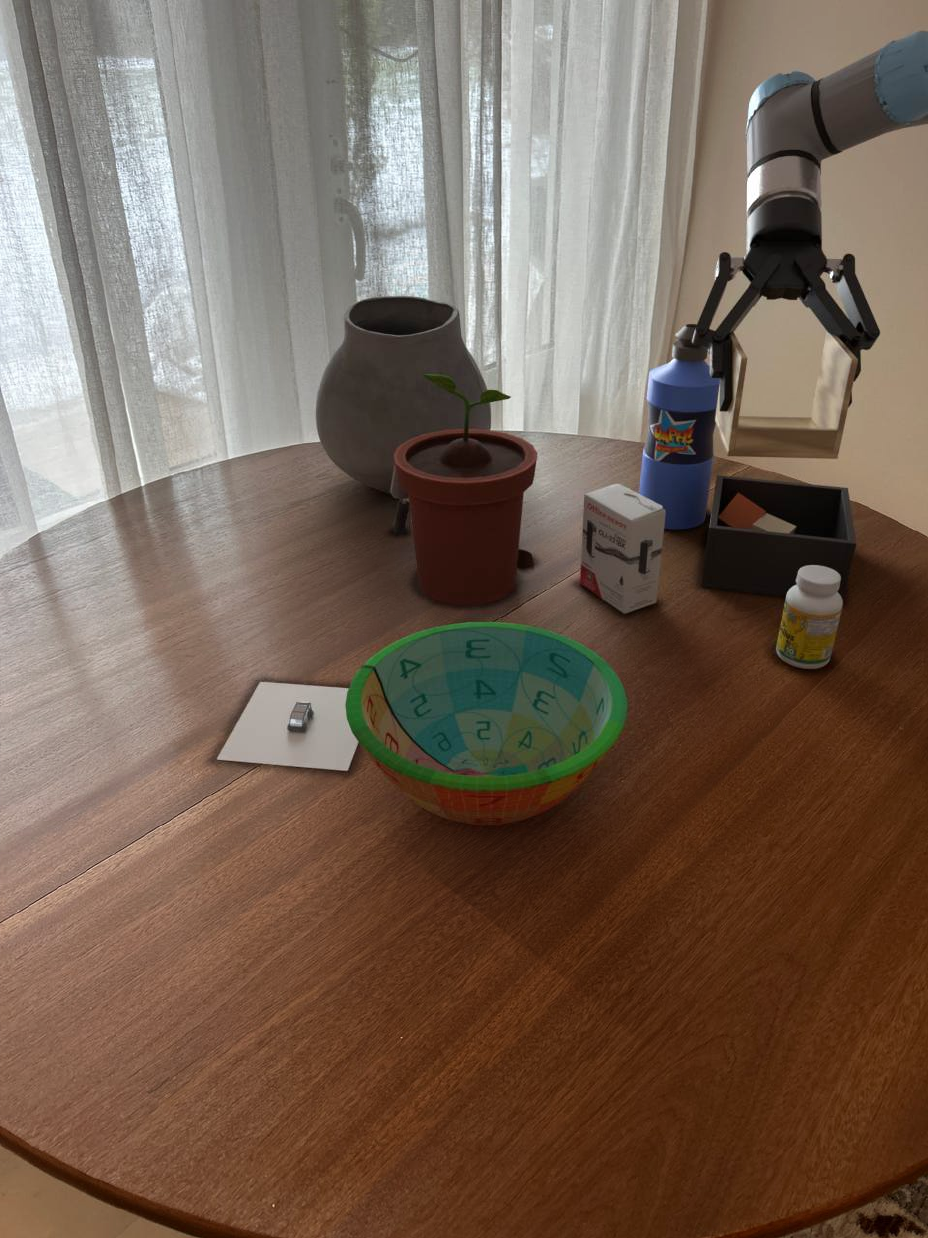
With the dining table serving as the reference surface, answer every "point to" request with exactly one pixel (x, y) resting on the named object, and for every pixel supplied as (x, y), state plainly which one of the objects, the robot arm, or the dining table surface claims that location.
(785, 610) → the supplement bottle
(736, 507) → the terracotta block
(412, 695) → the bowl
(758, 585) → the basket
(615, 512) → the ink box
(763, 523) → the cream block
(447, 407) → the ceramic pot
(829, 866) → the dining table surface
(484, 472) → the potted plant
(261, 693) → the white square sheet
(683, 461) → the water bottle
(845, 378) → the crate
